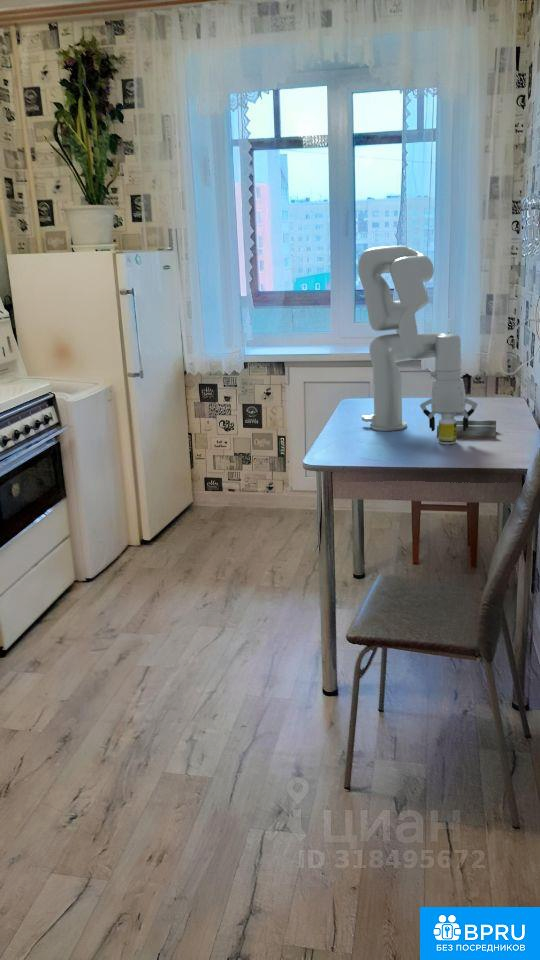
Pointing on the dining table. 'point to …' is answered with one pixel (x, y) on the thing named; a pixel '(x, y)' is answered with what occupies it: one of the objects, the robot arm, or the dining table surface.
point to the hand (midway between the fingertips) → (448, 430)
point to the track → (475, 429)
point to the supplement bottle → (447, 428)
